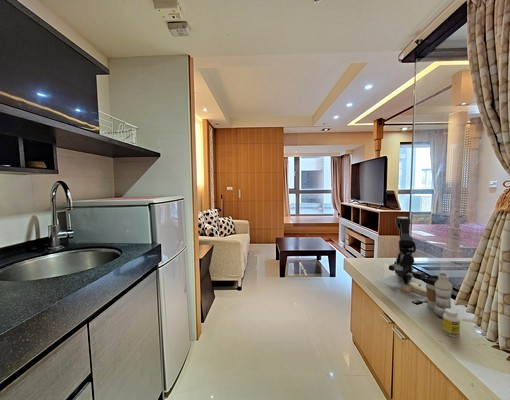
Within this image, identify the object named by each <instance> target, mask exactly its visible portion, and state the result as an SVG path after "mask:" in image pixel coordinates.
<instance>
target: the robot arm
mask: <svg viewBox="0 0 510 400" xmlns="http://www.w3.org/2000/svg"><path fill="white" fill-rule="evenodd" d="M394 219H395V220H394V221H395V224H396V227H397V229H398V230H399V231H398V232H399V240H398V252H399V253H398V254H397V255H396V258H395V263H393V264H389V265H388V271H392V272H394V274H395V275H396V276H399V277H401V278H402V280H403V281H404V283H405V285H406V284H408V283H409V282H410V281H411V280H412V278H413V279H416V280H419V281H422V280H425V279H426V277H427V275H426V273H425V272H423V271H422V272H421V271H419V270H417V271H414V268H413V265H414V263H415V257H414V256H413V254H414V253H416V250H417V247H416V242H415V241H414V240H413V237H412V236H411V235H410V230H409V229H410V228H409V227H410V225H411V224H412V223H411V219H412V218H409V217H408V216H397V218H396V217H395V218H394ZM410 283H411V282H410Z"/></svg>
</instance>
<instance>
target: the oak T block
mask: <svg viewBox="0 0 510 400" xmlns="http://www.w3.org/2000/svg"><path fill="white" fill-rule="evenodd" d="M422 287H423V286H422V284H421V283H419V282H417V281H412V282H410V283H409V284H406V285H403V286H401V290H400V291H402V290H404V291H403V292H405V291H407V292H406V293H408V292H410V291H415V292H418V293H421V294H423V295H426V296H427V291H426V289H425V288H426V287H424V288H422Z"/></svg>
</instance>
